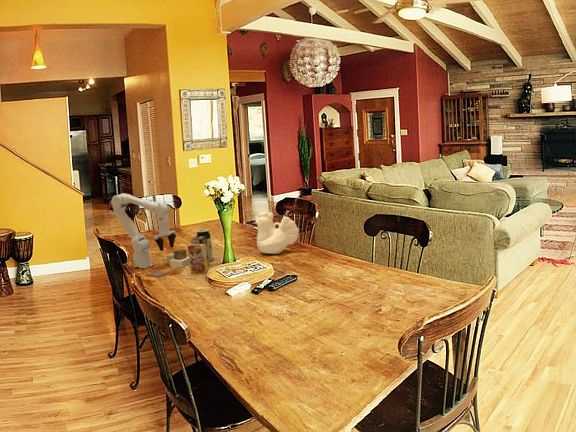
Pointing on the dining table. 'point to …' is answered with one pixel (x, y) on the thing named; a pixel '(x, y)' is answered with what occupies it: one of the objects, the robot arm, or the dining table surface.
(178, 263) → the base block
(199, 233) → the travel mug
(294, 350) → the dining table surface
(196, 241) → the coffee box
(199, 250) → the candy box
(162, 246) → the robot arm
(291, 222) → the decorative rooster
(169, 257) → the sage block
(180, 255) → the walnut block
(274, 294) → the dining table surface
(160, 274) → the card
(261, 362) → the dining table surface
